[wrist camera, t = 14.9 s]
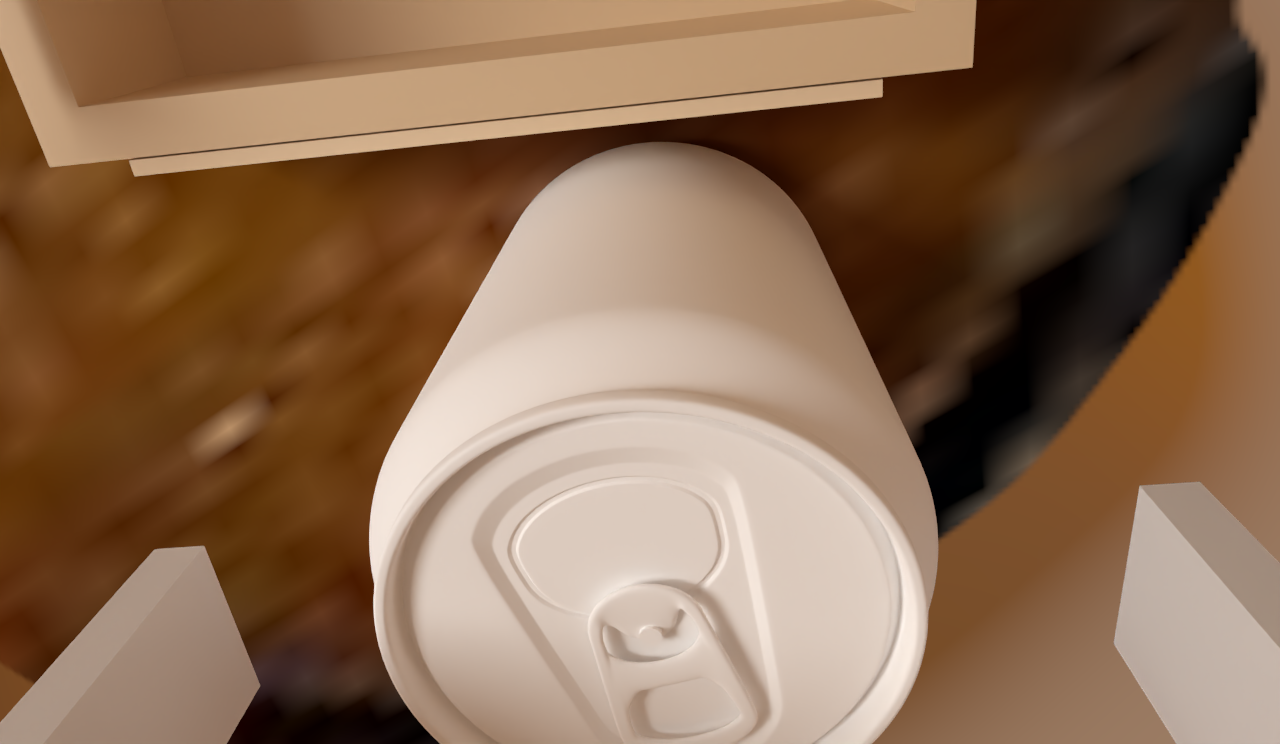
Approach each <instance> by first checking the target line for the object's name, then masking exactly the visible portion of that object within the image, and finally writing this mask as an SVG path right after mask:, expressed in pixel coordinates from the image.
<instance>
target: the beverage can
mask: <svg viewBox="0 0 1280 744" xmlns="http://www.w3.org/2000/svg"><path fill="white" fill-rule="evenodd" d="M369 547H370V561H371V569H372V575H373V580H374V621H375V629H376V635H377V640H378V644H379V648H380V651H381V655H382V658H383V661H384V663H385V666H386V669H387V671H388V673H389V675H390V678H391V680H392V682H393V684H394V685H395V687H396V689H397V691H398V693H399V694H400V696H401V698H402V699H403V701H404V702H405V704H406V705H407V707H408V708H409V709H410V711H411V712H412V713H413V715H414V716H415V717H416V718H417V720H418V721H419V722H420V723H421V724H422V726H423V727H424V728H425V729H426V730H427V731H428V732H429V733H430V734H431V735H432V736H433V737H434V738H435V739H436V740H437V741H438V742H439V743H440V744H872V743H873V742H874V741H875V740H876V739H877V738H878V737H879V736H880V735H881V733H882V732H883V731H884V730H885V729H886V728H887V727H888V725H889V724H890V723H891V721H892V720H893V719H894V717H895V716H896V715H897V713H898V712H899V710H900V709H901V707H902V705H903V704H904V702H905V700H906V699H907V697H908V695H909V693H910V691H911V689H912V687H913V684H914V682H915V680H916V677H917V675H918V672H919V669H920V666H921V663H922V659H923V655H924V651H925V646H926V639H927V631H928V610H929V607H930V604H931V600H932V595H933V592H934V586H935V581H936V573H937V564H938V531H937V521H936V514H935V508H934V503H933V499H932V495H931V491H930V487H929V484H928V481H927V478H926V475H925V473H924V470H923V467H922V465H921V463H920V460H919V458H918V456H917V454H916V452H915V450H914V447H913V445H912V443H911V441H910V439H909V437H908V434H907V432H906V430H905V428H904V426H903V424H902V421H901V419H900V417H899V415H898V413H897V411H896V409H895V406H894V404H893V402H892V400H891V398H890V396H889V394H888V391H887V389H886V387H885V385H884V383H883V381H882V379H881V376H880V374H879V372H878V370H877V368H876V366H875V364H874V361H873V359H872V357H871V355H870V353H869V351H868V349H867V346H866V344H865V342H864V340H863V338H862V336H861V334H860V331H859V329H858V327H857V325H856V323H855V321H854V319H853V316H852V314H851V312H850V310H849V308H848V306H847V304H846V301H845V299H844V297H843V295H842V293H841V291H840V289H839V286H838V284H837V282H836V280H835V278H834V276H833V274H832V271H831V269H830V267H829V265H828V263H827V261H826V259H825V256H824V254H823V252H822V250H821V248H820V246H819V244H818V241H817V239H816V237H815V235H814V233H813V231H812V229H811V227H810V226H809V224H808V222H807V221H806V219H805V217H804V216H803V214H802V213H801V211H800V210H799V209H798V207H797V206H796V205H795V203H794V202H793V201H792V200H791V199H790V197H789V196H788V195H787V194H786V193H785V192H784V191H783V190H782V189H781V188H780V187H779V186H778V185H776V184H775V183H774V182H773V181H772V180H771V179H769V178H768V177H767V176H765V175H764V174H763V173H761V172H760V171H758V170H757V169H755V168H754V167H752V166H750V165H749V164H747V163H745V162H743V161H741V160H739V159H737V158H735V157H733V156H730V155H728V154H725V153H723V152H720V151H717V150H714V149H710V148H707V147H703V146H698V145H693V144H687V143H678V142H646V143H638V144H631V145H626V146H622V147H617V148H614V149H610V150H607V151H604V152H602V153H599V154H596V155H594V156H592V157H589V158H587V159H585V160H583V161H581V162H579V163H578V164H576V165H574V166H572V167H571V168H569V169H568V170H566V171H565V172H563V173H562V174H560V175H559V176H558V177H556V178H555V179H554V180H553V181H552V182H550V183H549V184H548V185H547V186H546V187H545V188H544V189H543V190H542V191H541V192H540V193H539V194H538V195H537V196H536V197H535V198H534V199H533V201H532V202H531V203H530V204H529V206H528V207H527V208H526V210H525V211H524V212H523V214H522V215H521V217H520V218H519V220H518V222H517V223H516V225H515V227H514V228H513V230H512V232H511V234H510V235H509V237H508V239H507V241H506V243H505V244H504V246H503V248H502V250H501V251H500V253H499V255H498V257H497V258H496V260H495V262H494V264H493V265H492V267H491V269H490V271H489V273H488V274H487V276H486V278H485V280H484V281H483V283H482V285H481V287H480V288H479V290H478V292H477V294H476V295H475V297H474V299H473V301H472V303H471V304H470V306H469V308H468V310H467V311H466V313H465V315H464V317H463V318H462V320H461V322H460V324H459V325H458V327H457V329H456V331H455V333H454V334H453V336H452V338H451V340H450V341H449V343H448V345H447V347H446V348H445V350H444V352H443V354H442V355H441V357H440V359H439V361H438V363H437V364H436V366H435V368H434V370H433V371H432V373H431V375H430V377H429V378H428V380H427V382H426V384H425V385H424V387H423V389H422V391H421V393H420V394H419V396H418V398H417V400H416V401H415V403H414V405H413V407H412V408H411V410H410V412H409V414H408V416H407V417H406V419H405V421H404V423H403V424H402V426H401V428H400V430H399V432H398V433H397V435H396V437H395V439H394V441H393V443H392V445H391V447H390V449H389V451H388V453H387V455H386V458H385V460H384V463H383V465H382V468H381V471H380V474H379V477H378V481H377V484H376V488H375V492H374V497H373V502H372V509H371V517H370V529H369Z"/></svg>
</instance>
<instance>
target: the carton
mask: <svg viewBox="0 0 1280 744" xmlns="http://www.w3.org/2000/svg"><path fill="white" fill-rule="evenodd" d="M975 17H976V0H0V48H1V50H2V53H3V55H4V58H5V60H6V62H7V65H8V67H9V70H10V72H11V75H12V77H13V79H14V82H15V84H16V87H17V89H18V91H19V94H20V96H21V99H22V101H23V104H24V106H25V108H26V111H27V113H28V116H29V118H30V120H31V123H32V125H33V128H34V130H35V133H36V135H37V137H38V140H39V142H40V145H41V147H42V149H43V152H44V154H45V157H46V159H47V162H48V164H49V166H50V167H57V166H66V165H75V164H84V163H94V162H103V161H112V160H121V159H131V158H134V159H131V160H129V163H130V165H131V168H132V171H133V173H134V176H143V175H152V174H161V173H171V172H180V171H190V170H199V169H209V168H218V167H227V166H237V165H246V164H256V163H265V162H275V161H284V160H293V159H303V158H312V157H322V156H331V155H340V154H350V153H359V152H369V151H378V150H388V149H397V148H406V147H416V146H425V145H435V144H444V143H454V142H463V141H472V140H482V139H491V138H501V137H510V136H520V135H529V134H538V133H548V132H557V131H567V130H576V129H586V128H595V127H604V126H614V125H623V124H633V123H642V122H652V121H661V120H670V119H680V118H689V117H699V116H708V115H717V114H727V113H736V112H746V111H755V110H765V109H774V108H783V107H793V106H802V105H812V104H821V103H831V102H840V101H849V100H859V99H868V98H878V97H883V79H882V78H881V77H890V76H899V75H909V74H918V73H927V72H936V71H946V70H955V69H964V68H973V52H974V35H975Z"/></svg>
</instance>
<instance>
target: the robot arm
mask: <svg viewBox="0 0 1280 744" xmlns="http://www.w3.org/2000/svg"><path fill="white" fill-rule="evenodd" d="M1114 645H1115V646H1116V648H1117V650H1118V651H1119V653H1120V655H1121V656H1122V658H1123V659H1124V661H1125V663H1126V664H1127V666H1128V667H1129V669H1130V670H1131V672H1132V674H1133V675H1134V677H1135V679H1136V680H1137V682H1138V683H1139V685H1140V687H1141V688H1142V690H1143V691H1144V693H1145V695H1146V696H1147V698H1148V699H1149V701H1150V702H1151V704H1152V706H1153V707H1154V709H1155V711H1156V712H1157V714H1158V715H1159V717H1160V719H1161V720H1162V722H1163V723H1164V725H1165V726H1166V728H1167V730H1168V731H1169V733H1170V735H1171V736H1172V738H1173V739H1174V741H1175V743H1176V744H1280V563H1279V562H1278V561H1277V560H1276V559H1275V557H1274V556H1273V555H1272V554H1270V552H1269V551H1267V549H1266V548H1265V547H1264V546H1263V545H1262V544H1261V543H1260V542H1259V541H1258V540H1257V539H1256V538H1255V537H1254V536H1253V535H1252V534H1251V533H1250V532H1249V531H1248V530H1247V529H1246V528H1245V527H1244V526H1243V525H1242V524H1241V523H1240V522H1239V521H1238V520H1237V519H1236V518H1235V517H1234V516H1233V515H1232V514H1231V513H1230V512H1229V511H1228V510H1227V509H1226V508H1225V507H1224V506H1223V505H1222V504H1221V502H1219V500H1218V499H1217V498H1216V497H1215V496H1213V494H1212V493H1211V492H1209V490H1208V489H1207V488H1206V487H1205V486H1204V485H1203V484H1202V483H1201V482H1188V483H1172V484H1156V485H1141V486H1139V492H1138V498H1137V504H1136V510H1135V517H1134V523H1133V529H1132V535H1131V541H1130V547H1129V553H1128V559H1127V566H1126V571H1125V577H1124V584H1123V589H1122V595H1121V602H1120V608H1119V614H1118V620H1117V626H1116V632H1115V638H1114ZM259 687H260V684H259V681H258V679H257V676H256V674H255V671H254V669H253V666H252V664H251V661H250V659H249V656H248V654H247V652H246V649H245V647H244V644H243V642H242V639H241V637H240V634H239V632H238V629H237V627H236V624H235V622H234V619H233V617H232V614H231V612H230V609H229V607H228V604H227V602H226V599H225V597H224V594H223V592H222V589H221V587H220V584H219V582H218V579H217V577H216V574H215V572H214V569H213V567H212V564H211V562H210V559H209V557H208V554H207V552H206V549H205V547H204V546H196V547H180V548H165V549H155V550H154V551H153V552H152V553H151V554H150V555H149V556H148V557H147V558H146V560H145V561H144V562H143V563H142V564H141V565H140V566H139V567H138V569H137V570H136V571H135V572H134V573H133V574H132V575H131V576H130V578H129V579H128V580H127V581H126V582H125V583H124V584H123V585H122V587H121V588H120V589H119V590H118V591H117V592H116V593H115V594H114V595H113V597H112V598H111V599H110V600H109V601H108V602H107V603H106V604H105V606H104V607H103V608H102V609H101V610H100V611H99V612H98V613H97V615H96V616H95V617H94V618H93V619H92V620H91V621H90V622H89V624H88V625H87V626H86V627H85V628H84V629H83V630H82V631H81V633H80V634H79V635H78V636H77V637H76V638H75V639H74V640H73V641H72V643H71V644H70V645H69V646H68V647H67V648H66V649H65V650H64V652H63V653H62V654H61V655H60V656H59V657H58V658H57V659H56V661H55V662H54V663H53V664H52V665H51V666H50V667H49V668H48V670H47V671H46V672H45V673H44V674H43V675H42V676H41V677H40V678H39V680H38V681H37V682H36V683H35V684H34V685H33V686H32V688H31V689H30V690H29V691H28V692H27V693H26V694H25V695H24V696H23V698H22V699H21V700H20V701H19V702H18V703H17V704H16V706H15V707H14V708H13V709H12V710H11V711H10V712H9V713H8V714H7V716H6V717H5V718H4V719H3V720H2V721H1V722H0V744H227V742H228V740H229V738H230V737H231V735H232V733H233V732H234V730H235V728H236V726H237V725H238V723H239V721H240V719H241V718H242V716H243V714H244V713H245V711H246V709H247V707H248V706H249V704H250V702H251V701H252V699H253V697H254V695H255V694H256V692H257V690H258V688H259Z"/></svg>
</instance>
